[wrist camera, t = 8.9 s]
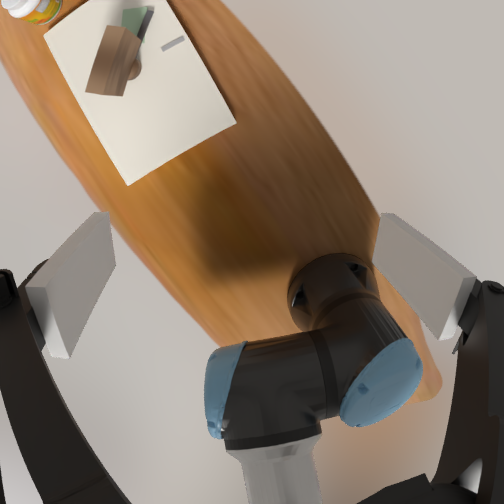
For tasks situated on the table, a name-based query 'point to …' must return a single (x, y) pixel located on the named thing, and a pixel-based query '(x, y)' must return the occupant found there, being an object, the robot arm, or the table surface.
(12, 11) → the supplement bottle
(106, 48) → the brown handled block
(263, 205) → the table surface
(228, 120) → the dial board
